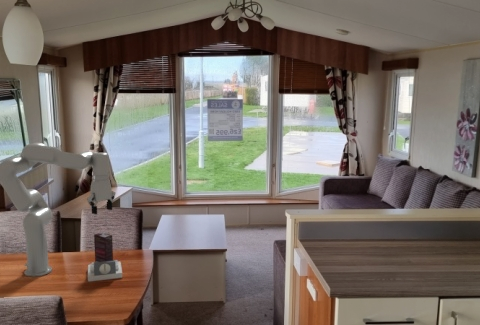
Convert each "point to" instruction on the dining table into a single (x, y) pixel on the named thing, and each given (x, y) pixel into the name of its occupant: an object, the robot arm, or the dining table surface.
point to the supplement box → (103, 247)
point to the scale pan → (93, 266)
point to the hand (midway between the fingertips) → (102, 211)
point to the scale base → (104, 271)
